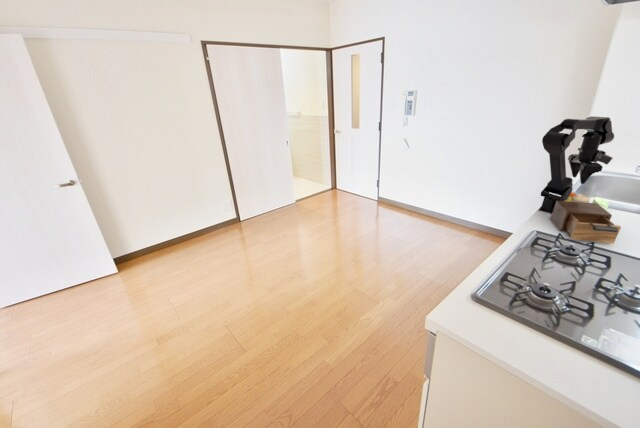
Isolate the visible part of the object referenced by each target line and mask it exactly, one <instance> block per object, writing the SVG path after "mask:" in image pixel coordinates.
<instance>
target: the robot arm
mask: <svg viewBox="0 0 640 428" xmlns="http://www.w3.org/2000/svg"><path fill="white" fill-rule="evenodd" d="M612 125H613V124H612V120H611V118H610V117H609V116H607V117H606V116H587V117H585V119H583V118H582V119H581V118H579V119H577V118H565V119H563V120H562V121H561V122H560V123H559V124H557V125H555V126H553V127H550V129H549V130H548V131H547V132H546V133H545V134H544V135H543V137H542V139H541V143H542V147H543V149H544V150H545V151H546V153H547V154H549V167H550V180H549V181H548V182H547V184H546V186H545V187H544V188H543V189H542V190H541V191H540V197H543V200H542V203H541V206H540V208H539V209H538V210H539V211H541V212H546V213H550V214H552V213H553V210H554V207H555V204H556V201H566V200H567V199H568V197H569V196H570V194H571V192H572V193H573V186H574V184H573V178H577V177H578V175H579V181H580V184H581V185H584V184H585V183H586V182H587V181H588V180H589V179H590V178H591V176H592V175H593V174H597V173H599V172H602V171H603V165H602V164H604V165H609V163H611V161H612V160H613V157H612V156H610V155H608V154H606V153H607V152H606V151H605V150H600V149H599V147H600V146H601V145H605V144H609V143H611V142H612V141H613V140H614V139H615V134H614V132H613V127H612ZM564 130H571V131H570V133H564V132H563V131H564ZM578 130H584V131H586V133H583V134H582V135H581V137H582V142H581V145H580V147H578V148H577V151H578V153H571V154H570V155H568V157H567V161H568V163H569V168H570V170H571V176H572V177H568V176H567V168H566V167H567V166H566V164H567V163H566V150H567V149H568V147H570V145H571V143H572V142H573V140H575V138H576V131H578ZM599 162H600V163H599ZM601 163H602V164H601Z"/></svg>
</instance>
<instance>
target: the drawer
mask: <svg viewBox="0 0 640 428" xmlns="http://www.w3.org/2000/svg"><path fill="white" fill-rule="evenodd" d="M564 228H565V229H566V230H567V231H568V232H567V231H566V232H567V233H568V234H569V235H570V237H569V238H570V239H571V240H577V241H585V242H586V241H587V242H597V243H606V244H615V243H616V239H617V238H618V235H619V233H620V230H621V229H622V226H621V225H617V224H615V223H614V222H613V221H611V219H610V220H609V219H608V218H606V217H605V216H592V215H580V214H569V215H568V218H567V221H566V223H565V226H564Z"/></svg>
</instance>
